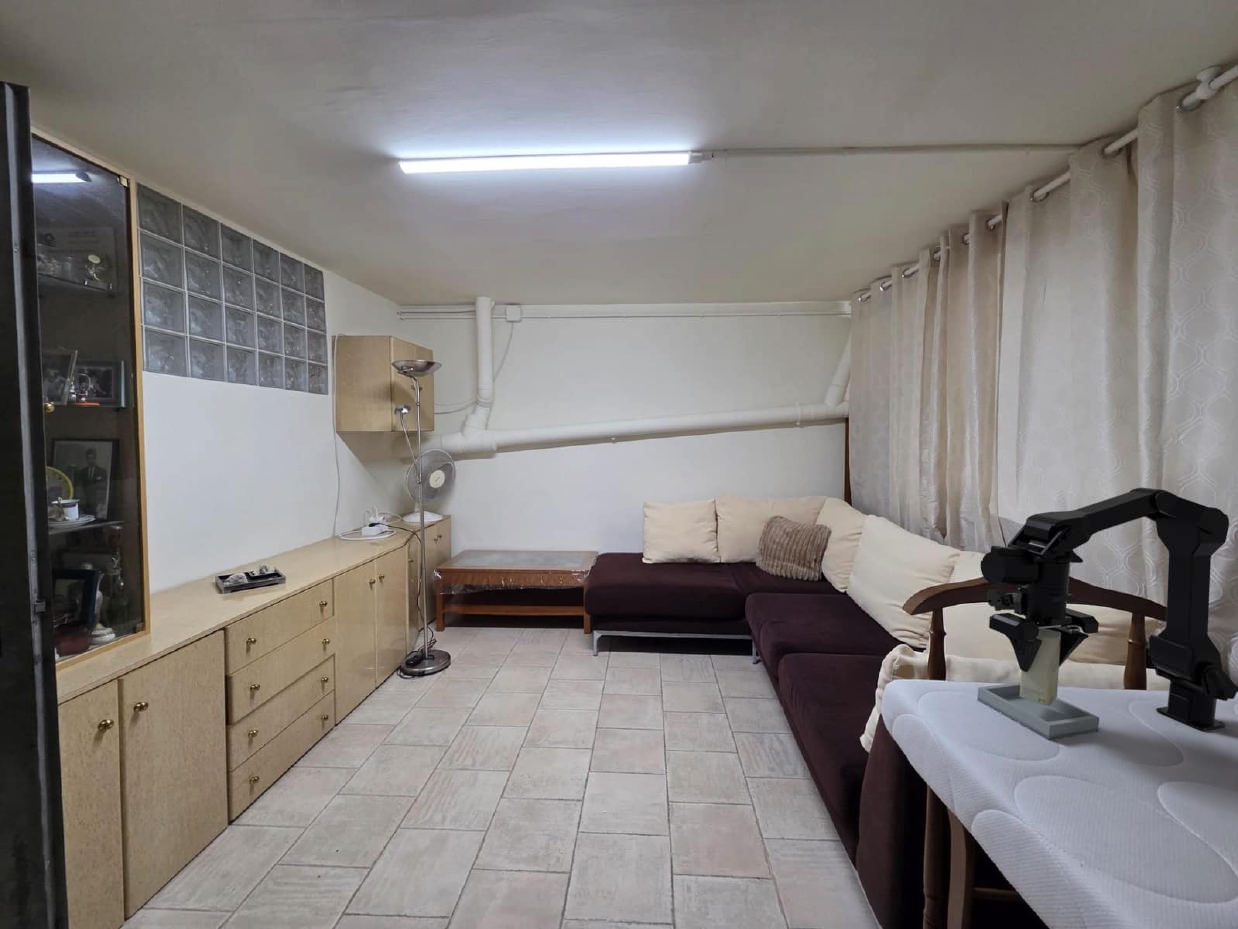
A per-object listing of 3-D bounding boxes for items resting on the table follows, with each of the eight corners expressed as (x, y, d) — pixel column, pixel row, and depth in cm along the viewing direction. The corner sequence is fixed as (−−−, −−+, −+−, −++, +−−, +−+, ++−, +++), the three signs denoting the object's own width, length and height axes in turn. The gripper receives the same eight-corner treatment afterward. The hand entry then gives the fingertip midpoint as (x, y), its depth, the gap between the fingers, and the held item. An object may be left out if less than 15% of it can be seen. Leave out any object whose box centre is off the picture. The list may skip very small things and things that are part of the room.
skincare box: (1049, 708, 87) (1055, 640, 86) (1017, 697, 90) (1022, 632, 90) (1057, 696, 91) (1062, 632, 90) (1026, 686, 94) (1031, 624, 94)
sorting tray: (1023, 694, 98) (1024, 681, 98) (1098, 731, 86) (1099, 717, 86) (977, 700, 96) (978, 687, 95) (1048, 739, 83) (1049, 725, 83)
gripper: (1038, 570, 99) (1031, 646, 100) (964, 574, 95) (958, 654, 96) (1104, 587, 89) (1096, 672, 90) (1025, 593, 84) (1017, 682, 85)
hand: (1039, 669), depth 90 cm, fingers closed on skincare box, 7 cm apart
